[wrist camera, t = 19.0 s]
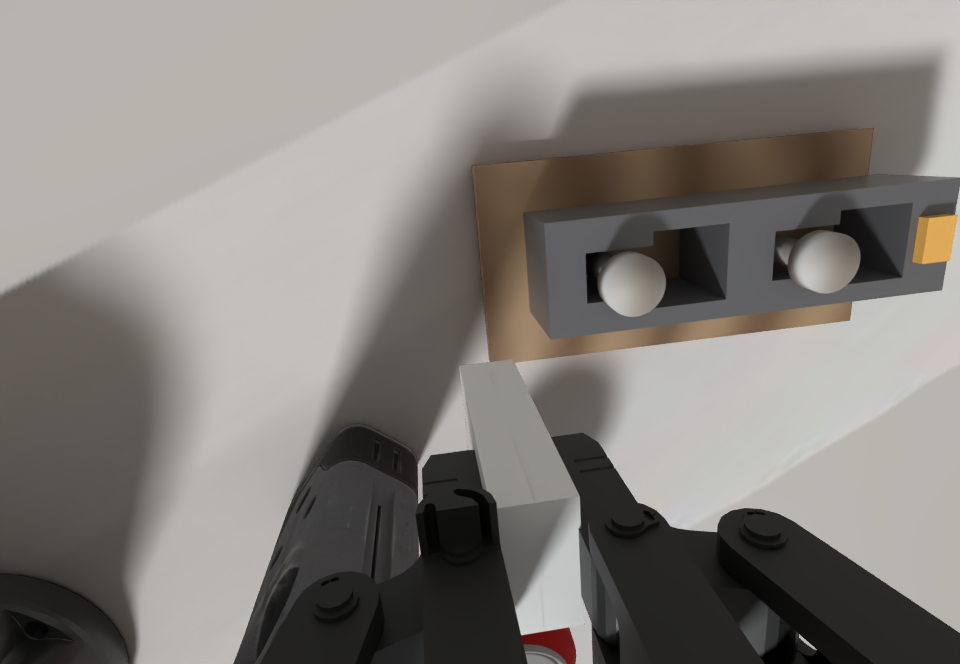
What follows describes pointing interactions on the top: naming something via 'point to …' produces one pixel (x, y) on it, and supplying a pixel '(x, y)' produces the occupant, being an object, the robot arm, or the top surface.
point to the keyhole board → (657, 235)
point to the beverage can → (550, 647)
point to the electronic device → (340, 527)
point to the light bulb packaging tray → (741, 249)
